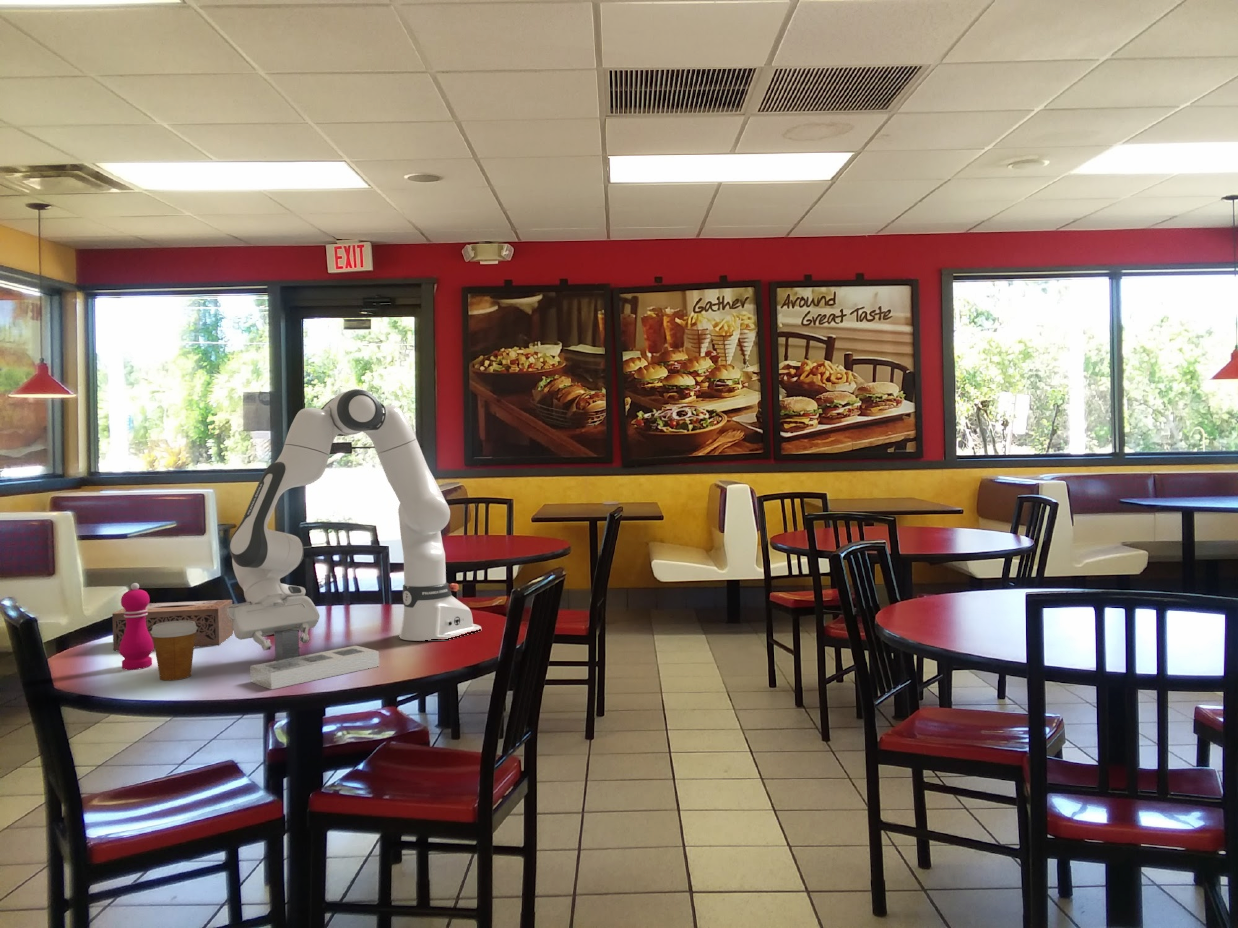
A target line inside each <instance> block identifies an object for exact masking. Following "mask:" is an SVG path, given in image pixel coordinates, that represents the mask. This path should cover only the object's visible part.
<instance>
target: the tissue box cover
mask: <svg viewBox="0 0 1238 928" xmlns="http://www.w3.org/2000/svg"><path fill="white" fill-rule="evenodd" d="M232 604H233V600H232V599H222V600H219V599H217V600H199V601H197V600H196V601H194V600H193V601H178V602H176V601H175V602H156V603H155V602H153V603H152V602H149V604H148V605H147V607H146V609H147V613H148V614H147V615H146V627H147V630H148V632H149V634H150V636H151V638H152V641H153V645H154V639H153V636H152V634H151V631H152V628H153V625H156V624H159V623H164V622H171V621H194V622H195V624H196V627H198V628H197V630H196V632H195V641H194V646H199V647H208V646H207V645H218V646H221V645H222V644H223V643H225V641H227V640H229V638H231V637H232V636H233V635H234V631H233V627H232V621H231V619H230V618H229V616H228V614H227V609H228V608H229V607H230V606H231V605H232ZM124 611H126V610H125V609H124V608H123V607H122V609H120V610H117V611H115V612H113V613H112V614H111V615H112V616H111V617H112V644H113V645H112V647H113V648H112V649H113V650H119V648H120V643H121V640H122V638H123V636H124V633H125V629H126V617H124ZM232 634H233V635H232ZM230 636H231V637H230ZM226 639H227V640H226ZM222 642H223V643H222ZM221 643H222V644H221ZM154 648H155V646H154Z"/></svg>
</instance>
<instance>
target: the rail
mask: <svg viewBox="0 0 1238 928" xmlns="http://www.w3.org/2000/svg"><path fill="white" fill-rule="evenodd" d="M377 666H378V667H380V651H379V650H376V649H372V648H367V647H363V646H359V645H351V646H348V647H342V648H337V649H331V650H326V651H320V652H316V653H315V652H314V653H310V654H305V655H299V657H294V658H289V659H284V660H279V661H275V660H274V661H269V662H263V663H258V664H253V665H249V672H250V675H249V676H250V677H249V680H250V681H249V682H251V683H252V684H256V685H258V686H261V687H263V688H267V689H269V690H276V689H281V688H285V687H290V686H294V685H299V684H303V683H309V682H313V681H318V680H321V679H327V678H330V677H331V678H332V677H335V676H340V675H345V674H351V673H354V672H359V671H364V670H368V668H369V669H373V668H376V667H377Z"/></svg>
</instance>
